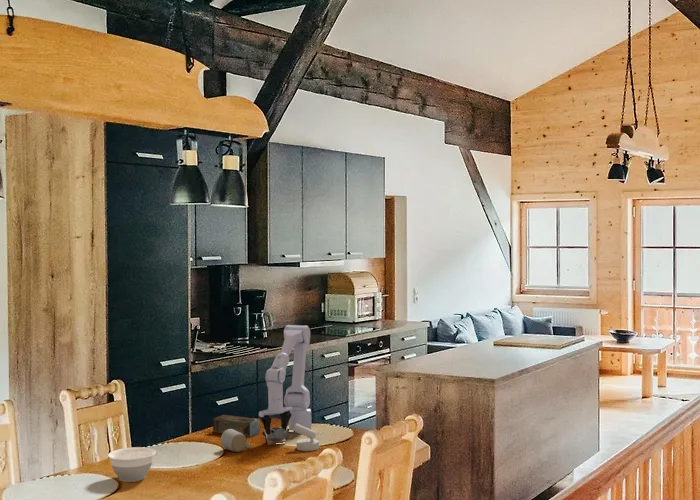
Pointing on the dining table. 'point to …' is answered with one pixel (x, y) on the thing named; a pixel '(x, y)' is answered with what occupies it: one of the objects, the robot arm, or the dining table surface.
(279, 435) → the open square sleeve
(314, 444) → the white round-based angled piece
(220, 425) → the beverage carton
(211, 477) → the dining table surface
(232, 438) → the ceramic mug
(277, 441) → the board
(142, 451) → the bowl
